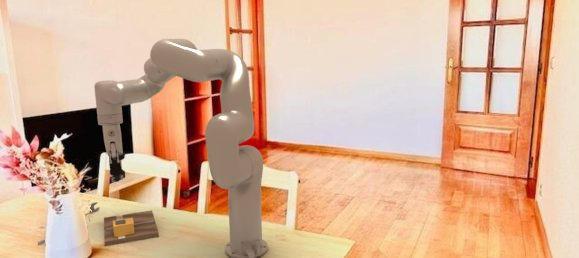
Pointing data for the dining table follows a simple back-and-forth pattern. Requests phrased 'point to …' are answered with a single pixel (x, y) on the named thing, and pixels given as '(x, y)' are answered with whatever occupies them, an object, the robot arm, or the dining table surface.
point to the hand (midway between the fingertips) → (115, 171)
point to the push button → (120, 177)
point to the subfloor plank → (142, 228)
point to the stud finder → (123, 227)
